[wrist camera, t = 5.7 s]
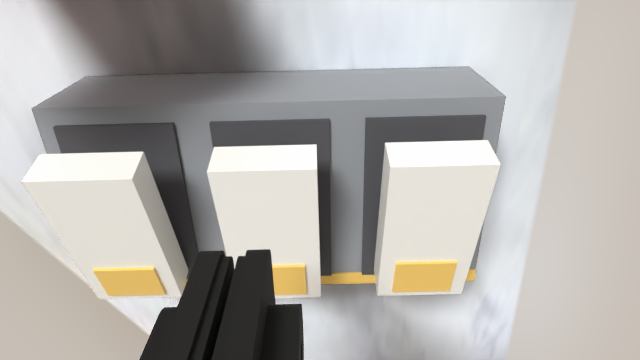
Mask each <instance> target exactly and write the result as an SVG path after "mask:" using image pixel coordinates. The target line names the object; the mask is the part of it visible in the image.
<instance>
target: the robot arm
mask: <svg viewBox="0 0 640 360" xmlns="http://www.w3.org/2000/svg"><path fill="white" fill-rule="evenodd" d="M140 360H304V344H303V318H302V305H301V304H283V305H276V304H275V293H274V281H273V270H272V259H271V251H270V249H261V250H247V251H246V255H245V256H238V258H237V262H236V266H235V269H234V262H233V258H232V256H225V253H224V251H223V250H222V251H200V252H199V253H198V255H197V258H196V260H195V263H194V265H193V268H192V270H191V273H190V276H189V278H188V281H187V283H186V286H185V288H184V291H183V294H182V296H181V299H180V301H179V304H178V306H177V307H167V308H164V309H162V310H161V312H160V314H159V316H158V318H157V320H156V323H155V325H154V327H153V330H152V332H151V334H150V337H149V339H148V341H147V344H146V346H145V348H144V350H143V353H142V355H141V357H140Z"/></svg>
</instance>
